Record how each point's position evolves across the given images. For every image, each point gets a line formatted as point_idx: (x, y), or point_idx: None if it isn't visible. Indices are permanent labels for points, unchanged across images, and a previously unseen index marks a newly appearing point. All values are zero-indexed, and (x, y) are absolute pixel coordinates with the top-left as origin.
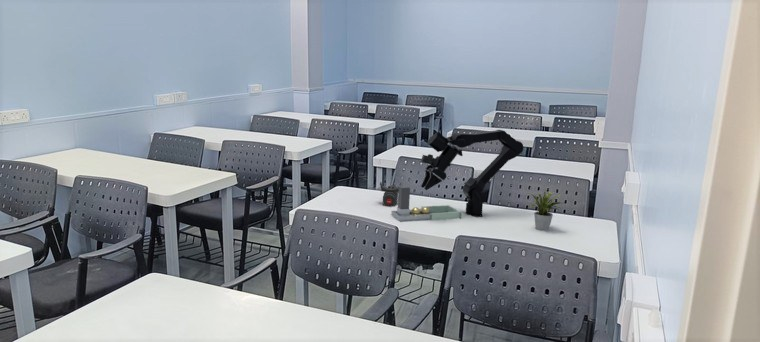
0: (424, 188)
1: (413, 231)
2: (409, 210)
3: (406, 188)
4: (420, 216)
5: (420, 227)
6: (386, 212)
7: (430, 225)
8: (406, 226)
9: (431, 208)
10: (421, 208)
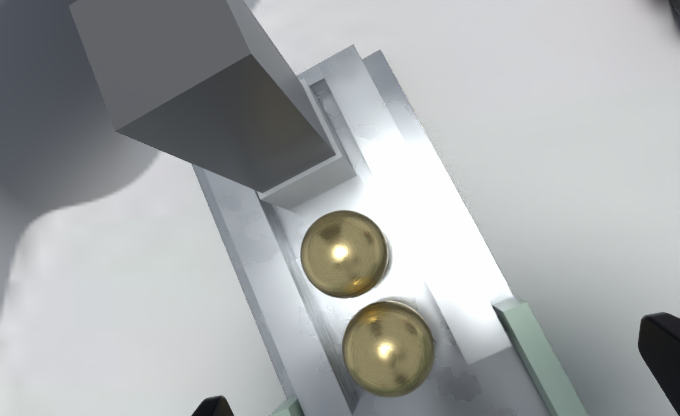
0: (207, 398)
1: (39, 264)
2: (264, 199)
3: (104, 82)
4: (261, 301)
5: (125, 305)
6: (474, 6)
7: (182, 379)
8: (134, 209)
9: (552, 410)
10: (517, 302)
